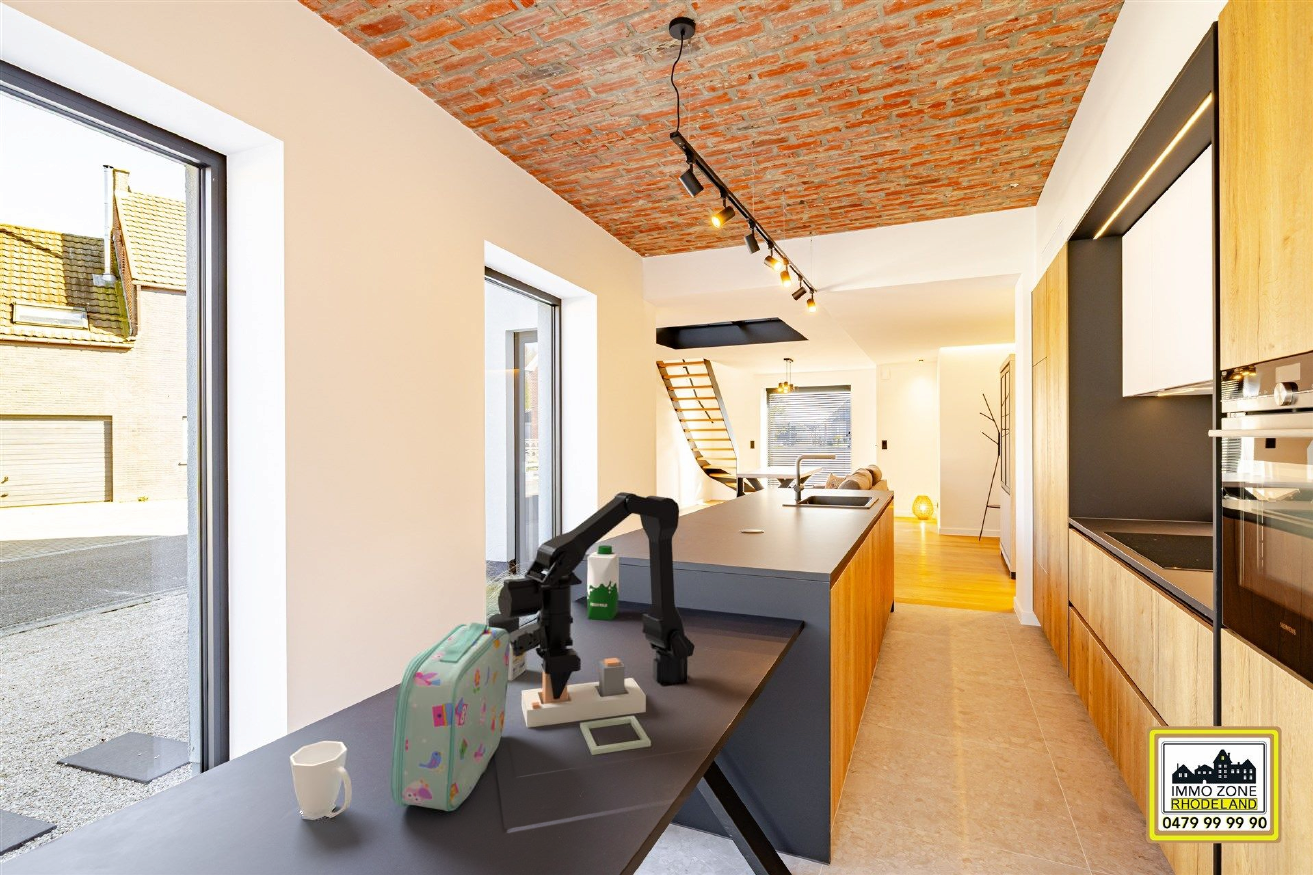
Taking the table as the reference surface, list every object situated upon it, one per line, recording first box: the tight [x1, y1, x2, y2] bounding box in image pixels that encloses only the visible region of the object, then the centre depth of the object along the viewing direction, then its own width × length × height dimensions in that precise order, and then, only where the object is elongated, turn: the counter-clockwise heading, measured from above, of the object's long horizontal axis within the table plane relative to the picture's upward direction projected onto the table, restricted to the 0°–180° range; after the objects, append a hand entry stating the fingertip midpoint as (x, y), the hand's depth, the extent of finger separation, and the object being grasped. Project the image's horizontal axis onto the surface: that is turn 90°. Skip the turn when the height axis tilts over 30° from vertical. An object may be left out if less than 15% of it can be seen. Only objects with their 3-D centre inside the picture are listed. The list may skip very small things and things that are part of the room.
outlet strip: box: [521, 677, 647, 728], centre depth 116 cm, size 22×9×4 cm, turn 108°
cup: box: [289, 740, 353, 819], centre depth 84 cm, size 7×10×8 cm
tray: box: [579, 715, 652, 756], centre depth 106 cm, size 10×10×1 cm
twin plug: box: [598, 657, 626, 697], centre depth 118 cm, size 4×4×9 cm
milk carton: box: [586, 544, 620, 621], centre depth 179 cm, size 9×9×20 cm
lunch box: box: [390, 622, 510, 812], centre depth 95 cm, size 27×10×21 cm, turn 178°
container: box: [487, 612, 528, 681], centre depth 134 cm, size 8×8×13 cm
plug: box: [541, 669, 568, 704], centre depth 114 cm, size 4×4×9 cm
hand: (554, 693), depth 114 cm, fingers open, 4 cm apart
